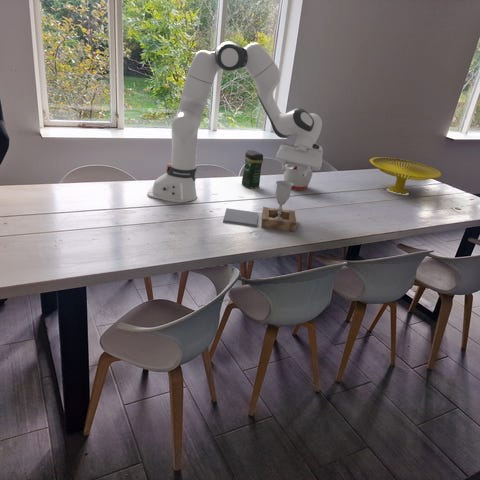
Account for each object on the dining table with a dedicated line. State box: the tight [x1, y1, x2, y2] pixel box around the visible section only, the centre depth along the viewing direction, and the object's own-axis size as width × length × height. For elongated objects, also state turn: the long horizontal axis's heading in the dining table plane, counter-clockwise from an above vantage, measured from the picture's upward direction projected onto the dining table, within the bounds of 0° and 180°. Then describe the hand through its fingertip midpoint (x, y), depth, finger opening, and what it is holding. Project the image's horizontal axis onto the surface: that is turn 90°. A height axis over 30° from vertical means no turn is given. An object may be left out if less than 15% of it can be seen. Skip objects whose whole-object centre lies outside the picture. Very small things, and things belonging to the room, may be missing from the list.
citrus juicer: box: [283, 164, 314, 191], centre depth 230 cm, size 16×17×20 cm
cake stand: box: [369, 156, 442, 194], centre depth 248 cm, size 40×40×15 cm
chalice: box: [275, 180, 293, 219], centre depth 180 cm, size 7×7×18 cm
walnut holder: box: [260, 206, 297, 233], centre depth 183 cm, size 14×14×4 cm
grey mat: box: [222, 207, 259, 228], centre depth 184 cm, size 14×14×1 cm
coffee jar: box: [241, 149, 264, 189], centre depth 223 cm, size 10×8×19 cm
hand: (293, 173), depth 185 cm, fingers open, 8 cm apart
